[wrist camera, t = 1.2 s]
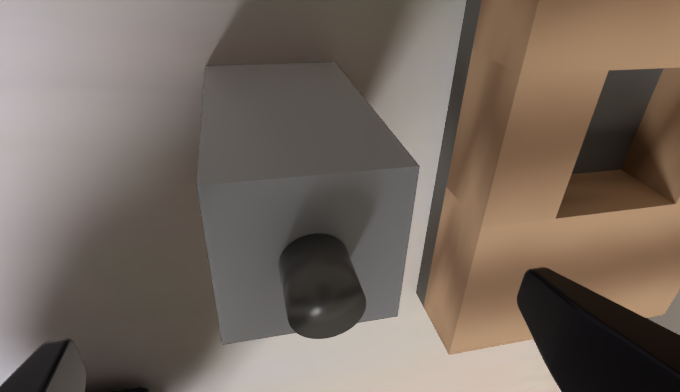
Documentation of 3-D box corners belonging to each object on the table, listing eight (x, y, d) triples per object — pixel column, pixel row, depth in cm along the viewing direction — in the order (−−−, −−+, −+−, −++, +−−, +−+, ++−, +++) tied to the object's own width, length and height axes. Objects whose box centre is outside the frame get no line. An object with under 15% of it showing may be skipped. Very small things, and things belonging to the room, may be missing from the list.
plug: (332, 171, 18) (419, 363, 10) (219, 181, 17) (223, 401, 9) (335, 61, 16) (450, 204, 8) (205, 65, 15) (192, 232, 7)
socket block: (607, 263, 26) (663, 314, 23) (416, 292, 23) (449, 354, 20) (813, -179, 15) (977, -204, 12) (504, -215, 13) (604, -260, 9)
